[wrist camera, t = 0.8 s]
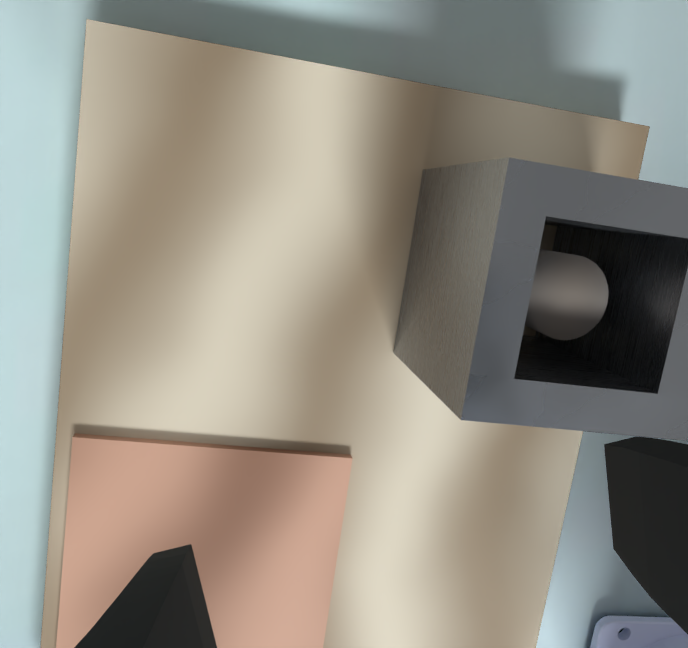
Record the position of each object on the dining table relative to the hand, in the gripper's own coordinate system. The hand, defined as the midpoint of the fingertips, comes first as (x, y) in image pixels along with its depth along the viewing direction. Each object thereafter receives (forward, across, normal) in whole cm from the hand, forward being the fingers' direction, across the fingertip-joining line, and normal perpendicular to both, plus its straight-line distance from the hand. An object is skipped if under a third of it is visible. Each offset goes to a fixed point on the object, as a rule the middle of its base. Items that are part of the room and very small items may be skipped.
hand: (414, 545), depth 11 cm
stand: (+10, 0, +1) cm, 10 cm away
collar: (+9, -5, -2) cm, 11 cm away
